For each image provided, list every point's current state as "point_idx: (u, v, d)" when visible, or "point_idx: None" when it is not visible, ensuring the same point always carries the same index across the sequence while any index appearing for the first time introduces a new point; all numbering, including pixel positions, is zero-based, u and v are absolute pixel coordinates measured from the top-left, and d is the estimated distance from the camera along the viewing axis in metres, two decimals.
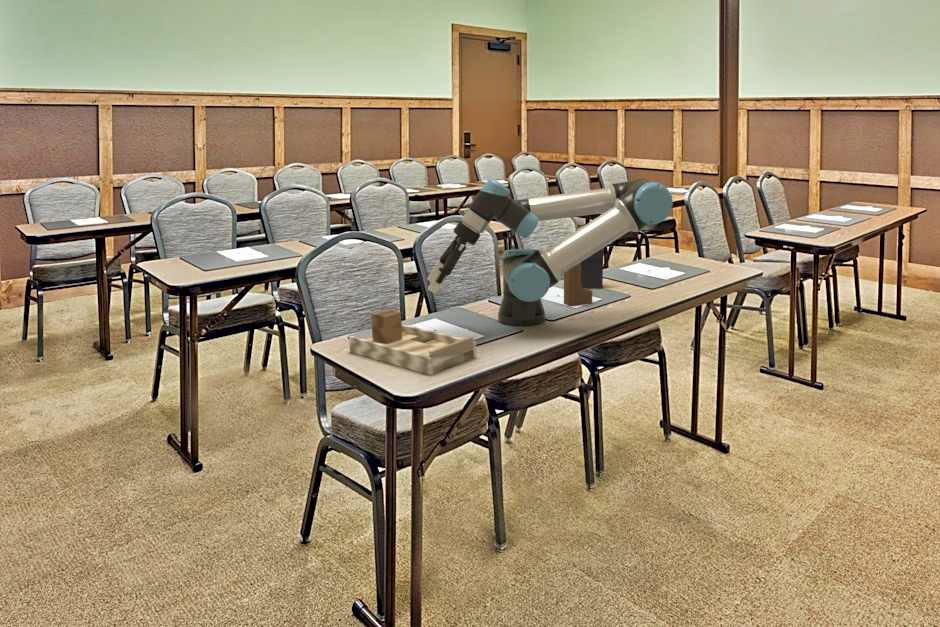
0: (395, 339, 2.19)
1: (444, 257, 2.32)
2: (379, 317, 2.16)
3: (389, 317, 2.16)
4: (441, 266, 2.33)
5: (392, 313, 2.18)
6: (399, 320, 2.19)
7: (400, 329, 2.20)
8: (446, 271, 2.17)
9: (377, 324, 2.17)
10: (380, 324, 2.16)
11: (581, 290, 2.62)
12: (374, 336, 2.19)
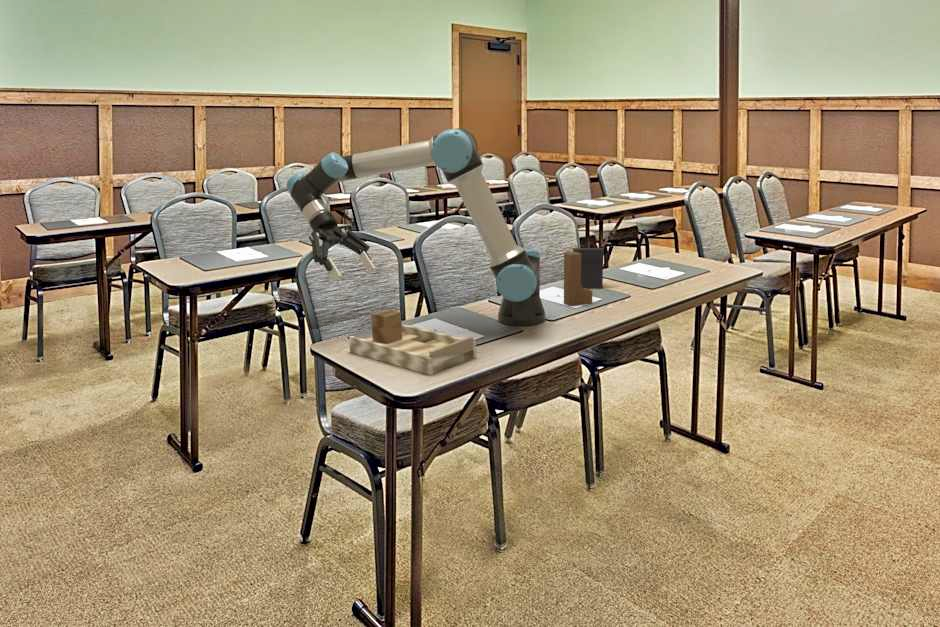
0: (395, 339, 2.19)
1: (354, 250, 2.30)
2: (379, 317, 2.16)
3: (389, 317, 2.16)
4: (362, 255, 2.30)
5: (392, 313, 2.18)
6: (399, 320, 2.19)
7: (400, 329, 2.20)
8: (315, 259, 2.19)
9: (377, 324, 2.17)
10: (380, 324, 2.16)
11: (581, 290, 2.62)
12: (374, 336, 2.19)
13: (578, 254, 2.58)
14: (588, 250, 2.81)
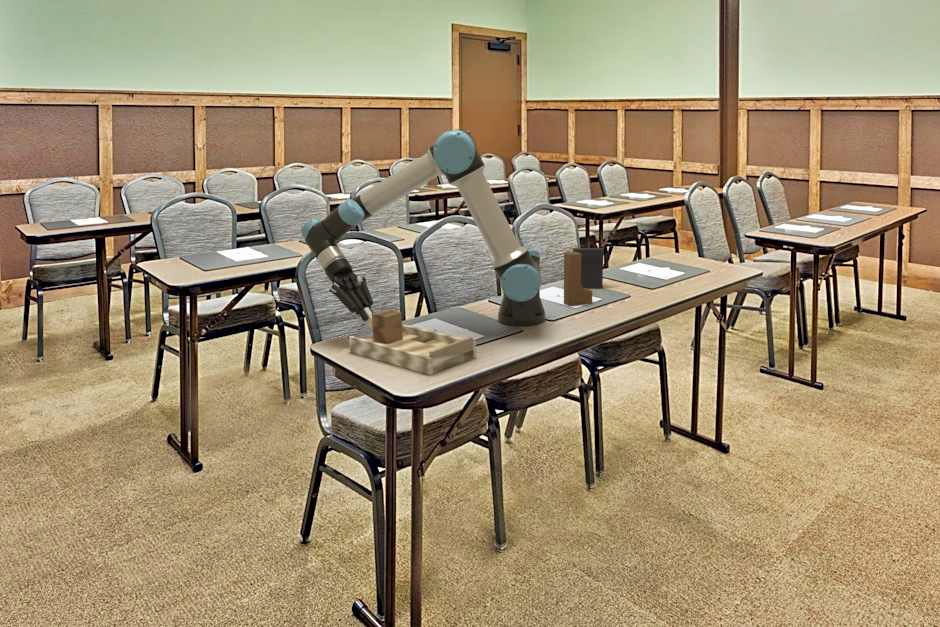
0: (396, 339, 2.18)
1: (359, 302, 2.25)
2: (380, 318, 2.16)
3: (390, 317, 2.15)
4: None
5: (393, 313, 2.17)
6: (399, 320, 2.18)
7: (401, 329, 2.19)
8: (352, 309, 2.21)
9: (378, 324, 2.17)
10: (381, 324, 2.16)
11: (581, 290, 2.62)
12: (375, 336, 2.19)
13: (578, 254, 2.58)
14: (588, 250, 2.81)
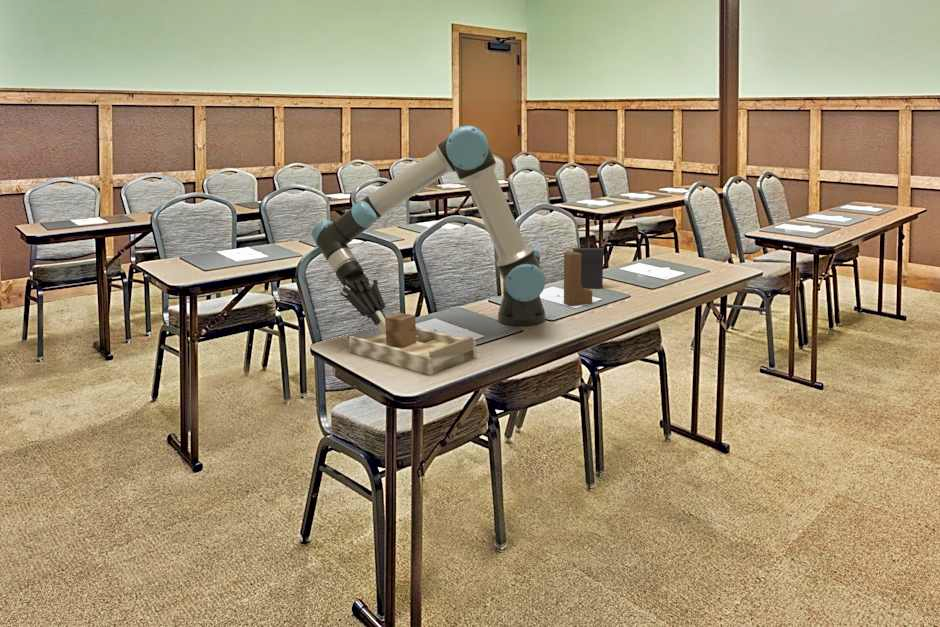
0: (410, 343, 2.15)
1: None
2: (394, 321, 2.12)
3: (405, 320, 2.12)
4: None
5: (407, 316, 2.14)
6: (413, 323, 2.15)
7: (414, 332, 2.16)
8: (363, 312, 2.17)
9: (392, 328, 2.13)
10: (395, 327, 2.12)
11: (581, 290, 2.62)
12: (388, 340, 2.15)
13: (578, 254, 2.58)
14: (588, 250, 2.81)
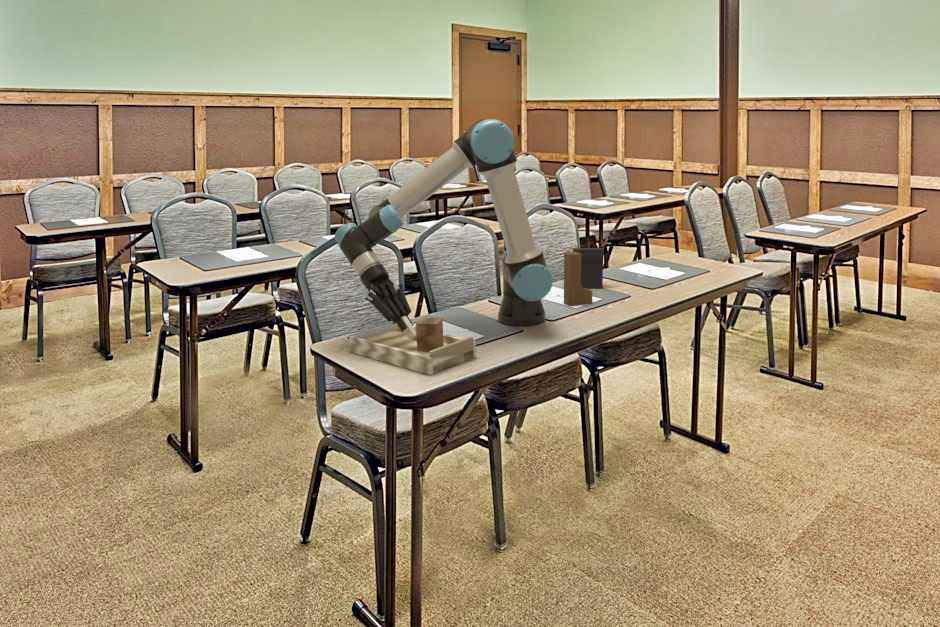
0: (441, 346, 2.11)
1: None
2: (429, 326, 2.07)
3: (438, 324, 2.08)
4: None
5: (436, 320, 2.10)
6: (442, 326, 2.11)
7: (442, 335, 2.13)
8: (389, 318, 2.11)
9: (425, 333, 2.07)
10: (430, 332, 2.07)
11: (581, 290, 2.62)
12: (420, 346, 2.09)
13: (578, 254, 2.58)
14: (588, 250, 2.81)
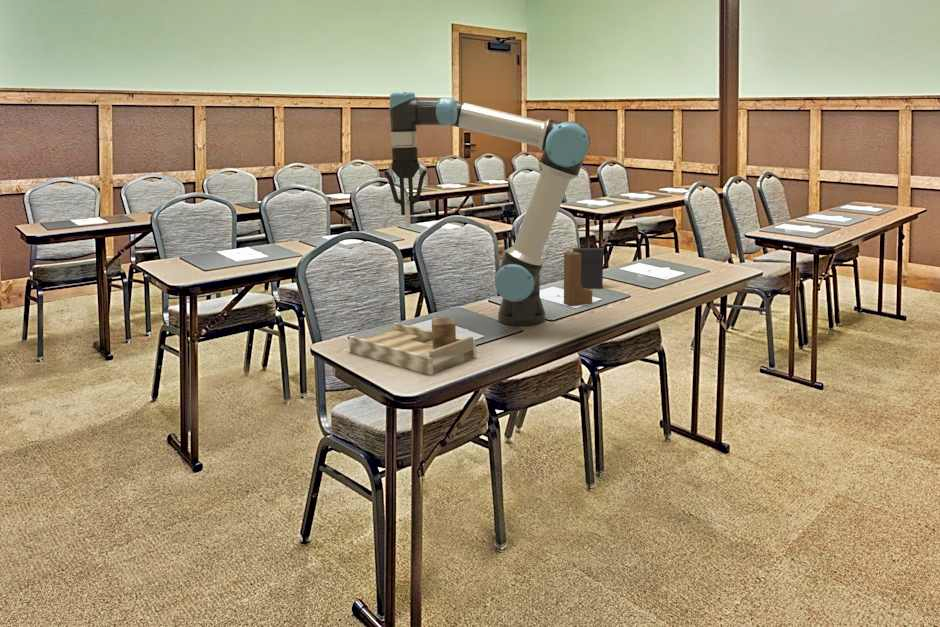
0: None
1: None
2: (446, 326, 2.06)
3: (454, 323, 2.08)
4: None
5: (450, 320, 2.09)
6: None
7: None
8: None
9: (443, 334, 2.06)
10: (448, 332, 2.06)
11: (581, 290, 2.62)
12: None
13: (578, 254, 2.58)
14: (588, 250, 2.81)
